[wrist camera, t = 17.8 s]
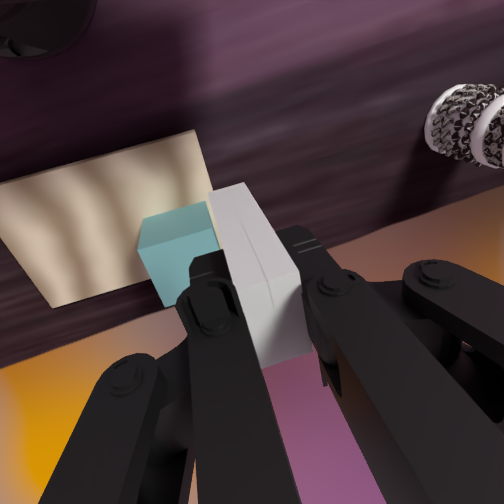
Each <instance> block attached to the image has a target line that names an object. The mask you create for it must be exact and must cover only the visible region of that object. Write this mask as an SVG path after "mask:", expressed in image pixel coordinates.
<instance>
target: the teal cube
mask: <svg viewBox="0 0 504 504" xmlns="http://www.w3.org/2000/svg"><path fill="white" fill-rule="evenodd" d="M220 249H221V248H220V245H219V242H218V239H217V236H216V232H215V229H214V226H213V223H212V220H211V217H210V214H209V211H208V207H207V204H206V201H202V202H198V203H195V204H192V205H188V206H185V207H181V208H178V209H174V210H171V211H167V212H164V213H161V214H157V215H154V216H150V217H147V218H143V223H142V228H141V233H140V239H139V244H138V249H137V251H138V253H139V255H140V257H141V259H142V261H143V263H144V265H145V267H146V269H147V271H148V274H149V276H150V278H151V280H152V282H153V284H154V286H155V288H156V290H157V292H158V294H159V296H160V298H161V300H162V303H163V305H164V307H168V306H171V305H174V304H176V301H177V298H178V297H179V295H180V294H181V293H182V292H183V290H185V289H186V288H187V287H189V286H190V278H189V266H190V264H191V262H192V260H193V258H194V257H197V256H200V255H204V254H207V253H210V252H214V251H217V250H220Z"/></svg>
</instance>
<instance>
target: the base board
mask: <svg viewBox="0 0 504 504" xmlns="http://www.w3.org/2000/svg"><path fill="white" fill-rule="evenodd" d="M212 191H213V189H212V186H211V183H210V179H209V176H208V173H207V169H206V166H205V163H204V159H203V156H202V153H201V149H200V146H199V143H198V139H197V136H196V133H195V130H190V131H187V132H183V133H179V134H176V135H172V136H168V137H165V138H161V139H157V140H154V141H150V142H146V143H143V144H139V145H136V146H132V147H128V148H125V149H121V150H117V151H114V152H110V153H106V154H103V155H99V156H95V157H92V158H88V159H84V160H81V161H77V162H74V163H70V164H66V165H63V166H59V167H55V168H52V169H48V170H44V171H41V172H37V173H33V174H30V175H26V176H22V177H19V178H15V179H12V180H8V181H4V182H1V183H0V238H1V239H2V240H3V242H4V243H5V244H6V246H7V247H8V249H9V250H10V251H11V253H12V254H13V255H14V257H15V258H16V259H17V261H18V262H19V264H20V265H21V266H22V268H23V269H24V270H25V272H26V273H27V274H28V276H29V277H30V279H31V280H32V281H33V283H34V284H35V285H36V287H37V288H38V289H39V291H40V292H41V294H42V295H43V296H44V298H45V299H46V300H47V302H48V303H49V304H50V306H51V307H52V308H56V307H59V306H62V305H66V304H69V303H72V302H75V301H79V300H82V299H85V298H89V297H92V296H95V295H98V294H102V293H105V292H108V291H112V290H115V289H118V288H121V287H125V286H128V285H131V284H135V283H138V282H141V281H145V280H148V279H151V278H150V276H149V274H148V271H147V269H146V267H145V265H144V263H143V261H142V259H141V257H140V255H139V253H138V251H137V249H138V244H139V239H140V233H141V228H142V223H143V218H147V217H150V216H154V215H157V214H161V213H164V212H167V211H171V210H174V209H178V208H181V207H185V206H188V205H192V204H195V203H198V202H202V201H206V204H207V207H208V211H209V214H210V217H211V220H212V223H213V226H214V229H215V232H216V236H217V239H218V242H219V245H220V248H221V249H223V246H222V243H221V239H220V235H219V232H218V228H217V225H216V221H215V218H214V214H213V211H212V207H211V203H210V200H209V196H208V193H209V192H212Z"/></svg>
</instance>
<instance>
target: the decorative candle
mask: <svg viewBox="0 0 504 504" xmlns="http://www.w3.org/2000/svg"><path fill="white" fill-rule="evenodd" d="M424 133H425V141H426V142H427V144H428V145H429V147H430V148H431V149H432V150H434V151H436V152H438V153H441V154H443V153H446V156H447V157H449V156H450V155H452V154H454V155H455V156H454V159H456V160H458V159H464V161H465V162H467V163H473V162H474V164H475V165H476V166H482V165H483V164H484V165H485V166H490V167H493V168H503V169H504V86H501V87H500V88H498V87H497V86H494V85H492V84H489V85H486V86H485V85H482V84H476V85H473V84H464V85H456V86H454V87H452V88H450V89H448V90H446V91H445V92H444V93H443V94H442V95H441V96H440V97H439V98H438V99H437V100H436V101H435V102H434V104H433V106H432V107H431V109H430V111H429V113H428V115H427V118H426V122H425V127H424Z"/></svg>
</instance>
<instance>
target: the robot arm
mask: <svg viewBox="0 0 504 504" xmlns="http://www.w3.org/2000/svg"><path fill="white" fill-rule="evenodd" d="M96 1H97V0H0V57H1V58H6V59H15V60H38V59H44V58H49V57H52V56H55V55H57V54H60V53H62V52H63V51H65V50H67V49H68V48H70V47H71V46H72V45H73V44H75V43H76V42H77V41H78V40H79V38H80V37H81V36H82V35H83V33H84V32H85V30H86V29H87V27H88V25H89V23H90V21H91V19H92V16H93V13H94V10H95V6H96ZM208 196H209V200H210V203H211V207H212V211H213V214H214V218H215V221H216V225H217V228H218V232H219V235H220V239H221V243H222V246H223V249H220V250H217V251H214V252H210V253H207V254H204V255H200V256H197V257H194V258H193V260H192V262H191V264H190V266H189V278H190V286H189V287H187V288H186V289H185V290H183V292H182V293H181V294H180V295H179V297H178V298H177V301H176V305H175V308H176V310H177V312H178V314H179V316H180V319H181V320H182V323H183V325H184V327H185V329H186V332H187V334H188V335H187V337H186V338H185V340H183V342H181V343H180V344H179V345H178V346H177V347H175V348H174V349H172V350H171V351H169V352H168V353H166V354H164V355H163V356H161V357H159V358H158V359H156V360H155V358H154V357H152V356H150V355H148V354H144V353H136V354H132V355H129V356H125V357H123V358H122V359H120V360H118V361H116V362H115V363H113V364H112V365H111V366H110V367H109V368H108V369H107V370H106V371H104V372H103V374H102V375H101V377H100V378H99V380H98V381H97V383H96V385H95V386H94V389H93V391H92V393H91V395H90V397H89V399H88V401H87V403H86V405H85V407H84V409H83V411H82V413H81V416H80V418H79V420H78V422H77V424H76V426H75V428H74V430H73V432H72V434H71V436H70V438H69V441H68V443H67V445H66V447H65V449H64V451H63V453H62V455H61V457H60V459H59V461H58V463H57V465H56V467H55V469H54V471H53V474H52V476H51V478H50V480H49V482H48V484H47V486H46V488H45V490H44V492H43V494H42V496H41V498H40V501H39V503H38V504H188V500H189V494H190V488H191V481H192V474H193V468H194V462H195V460H196V477H197V492H198V504H302V503H301V500H300V496H299V493H298V490H297V486H296V483H295V480H294V476H293V473H292V469H291V466H290V463H289V459H288V456H287V453H286V449H285V446H284V443H283V439H282V436H281V433H280V429H279V426H278V423H277V419H276V416H275V413H274V410H273V406H272V403H271V399H270V396H269V393H268V389H267V386H266V383H265V380H264V376H263V373H262V370H261V369H262V368H265V367H268V366H271V365H274V364H277V363H280V362H283V361H286V360H289V359H292V358H295V357H298V356H301V355H304V354H307V353H310V352H313V349H312V343H313V345H314V347H315V348H316V351H317V353H318V358H319V364H320V371H321V376H322V382H323V386H324V387H325V386H327V382H328V384H329V386H330V388H331V390H332V392H333V395H334V397H335V399H336V401H337V403H338V405H339V407H340V409H341V411H342V413H343V415H344V417H345V419H346V421H347V423H348V425H349V427H350V429H351V431H352V433H353V435H354V437H355V440H356V442H357V444H358V446H359V448H360V450H361V452H362V453H363V456H364V458H365V460H366V462H367V464H368V466H369V468H370V470H371V472H372V474H373V476H374V478H375V480H376V483H377V485H378V486H379V489H380V491H381V493H382V495H383V497H384V499H385V501H386V503H387V504H504V286H503V285H501V284H499V283H497V282H495V281H492V280H490V279H488V278H486V277H484V276H482V275H479V274H477V273H475V272H473V271H471V270H468V269H466V268H464V267H462V266H460V265H457V264H454V263H451V262H448V261H442V260H435V259H433V260H421V261H418V262H415V263H413V264H411V265H409V266H408V267H407V268H406V269H405V270H404V273H403V278H402V279H403V280H398V281H385V282H368V281H366V280H365V279H364V278H362V277H361V276H360V275H358V274H357V273H356V272H353V271H350V270H347V269H341V268H340V266H339V265H338V264H337V263H336V262H335V261H334V259H333V258H332V257H331V256H330V254H329V253H328V252H327V251H326V250H325V248H324V247H323V246H321V244H320V242H319V241H318V240H316V238H315V236H314V235H313V234H312V233H311V232H310V230H308V229H306V228H303V227H301V226H299V225H296V226H292V227H289V228H286V229H283V230H279V231H276V232H274V230H273V228H272V227H271V225H270V224H269V222H268V220H267V219H266V217H265V215H264V214H263V212H262V211H261V209H260V207H259V206H258V204H257V203H256V201H255V199H254V198H253V196H252V195H251V193H250V191H249V190H248V188H247V186H246V185H245V183H244V182H243V183H240V184H236V185H233V186H229V187H226V188H223V189H219V190H216V191H212V192H209V193H208ZM311 341H312V343H311ZM463 341H464V342H465V343H467V344H468V345H470V346H471V347H470V346H468V345H466V344H465V343H463Z"/></svg>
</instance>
